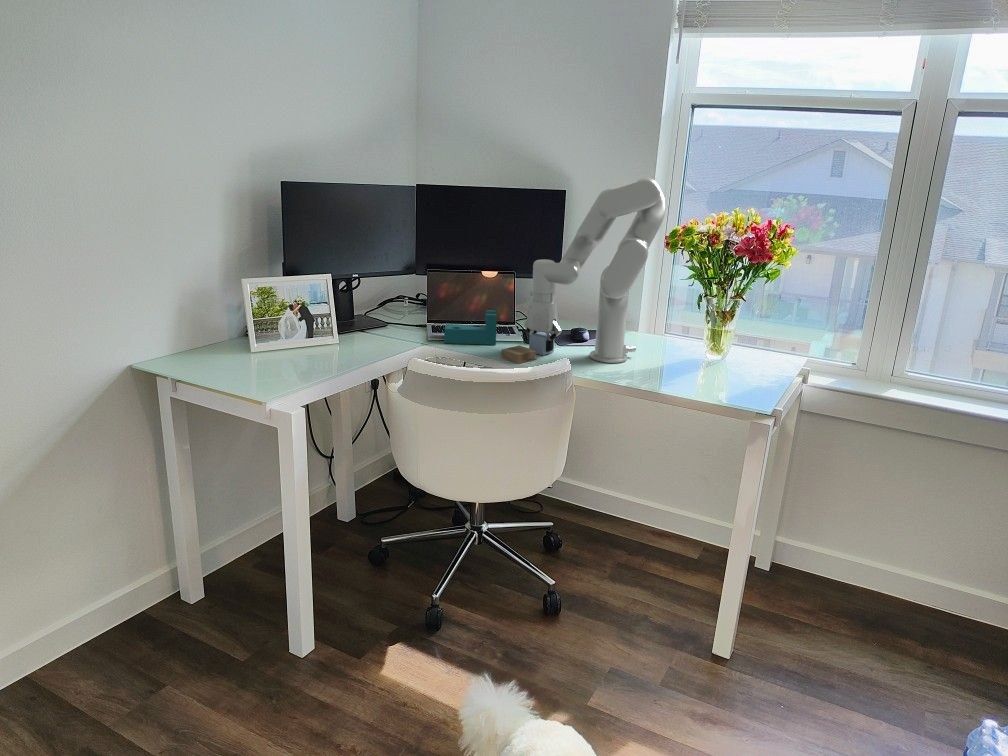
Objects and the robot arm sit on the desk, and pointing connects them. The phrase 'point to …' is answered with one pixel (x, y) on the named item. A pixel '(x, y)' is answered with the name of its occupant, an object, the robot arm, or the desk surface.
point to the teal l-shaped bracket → (473, 332)
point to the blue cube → (539, 343)
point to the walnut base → (519, 354)
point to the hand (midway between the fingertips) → (541, 348)
